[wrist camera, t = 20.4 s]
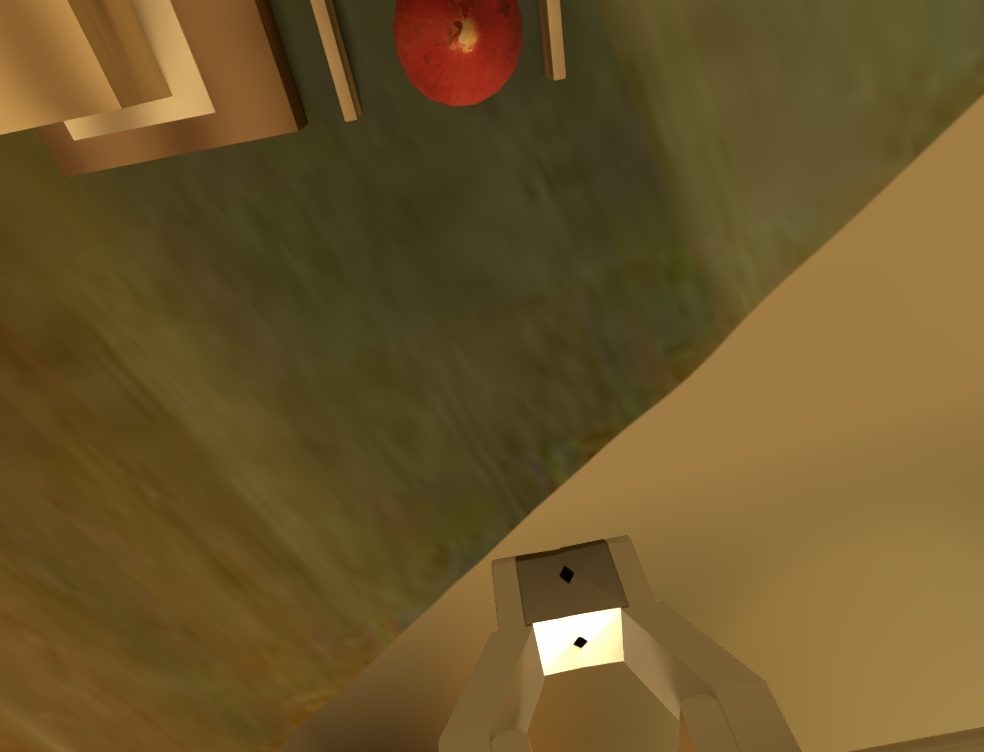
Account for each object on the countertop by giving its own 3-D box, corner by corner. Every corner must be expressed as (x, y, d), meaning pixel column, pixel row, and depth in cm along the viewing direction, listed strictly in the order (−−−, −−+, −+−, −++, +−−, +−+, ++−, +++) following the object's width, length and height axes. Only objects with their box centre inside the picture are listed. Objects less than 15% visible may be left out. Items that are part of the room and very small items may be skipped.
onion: (386, -31, 26) (375, -59, 19) (505, -41, 26) (536, -73, 19) (406, 104, 29) (403, 121, 22) (512, 93, 29) (542, 107, 22)
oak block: (70, 117, 26) (-1, 134, 21) (-1, -10, 23) (-98, -20, 19) (172, 96, 25) (121, 109, 21) (114, -35, 23) (42, -50, 19)
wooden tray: (90, 166, 29) (62, 178, 27) (-39, -68, 24) (-88, -79, 21) (556, 74, 29) (566, 78, 27) (533, -184, 24) (544, -208, 21)
